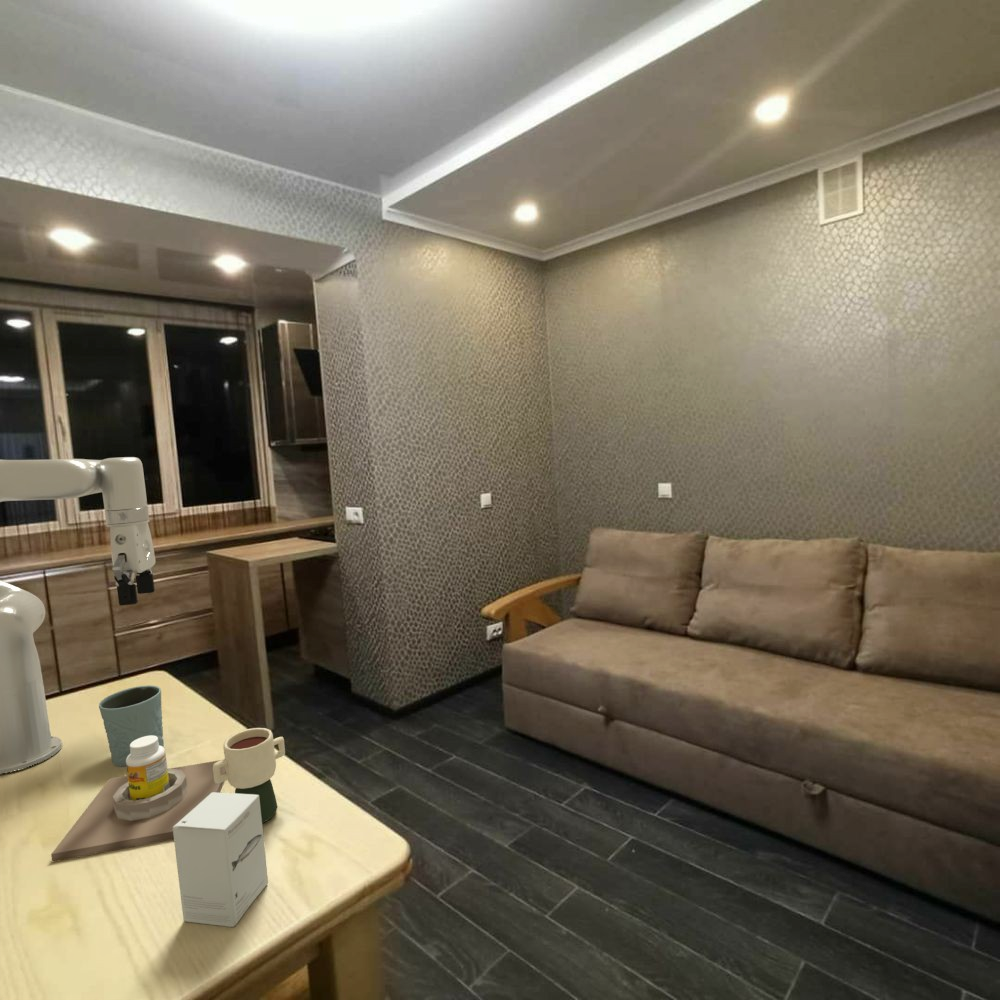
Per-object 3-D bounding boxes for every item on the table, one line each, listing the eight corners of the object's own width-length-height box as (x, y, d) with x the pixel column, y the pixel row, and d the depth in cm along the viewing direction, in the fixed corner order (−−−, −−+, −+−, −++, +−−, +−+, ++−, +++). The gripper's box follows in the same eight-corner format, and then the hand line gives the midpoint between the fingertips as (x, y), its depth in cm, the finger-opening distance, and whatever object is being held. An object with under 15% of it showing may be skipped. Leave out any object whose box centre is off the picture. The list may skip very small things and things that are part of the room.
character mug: (280, 792, 98) (273, 718, 97) (299, 809, 93) (292, 732, 92) (212, 824, 91) (203, 744, 90) (229, 845, 86) (219, 761, 84)
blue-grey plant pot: (172, 737, 120) (166, 681, 119) (161, 762, 111) (154, 701, 110) (116, 748, 117) (108, 691, 116) (99, 775, 108) (90, 712, 106)
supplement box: (235, 929, 71) (223, 830, 69) (181, 922, 72) (169, 826, 71) (270, 883, 78) (260, 793, 76) (221, 878, 79) (211, 789, 78)
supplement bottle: (126, 802, 96) (118, 743, 95) (162, 786, 100) (155, 729, 99) (138, 815, 92) (131, 753, 91) (176, 797, 97) (169, 738, 96)
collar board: (52, 861, 85) (48, 837, 84) (110, 784, 104) (108, 765, 104) (202, 833, 89) (199, 810, 89) (231, 764, 108) (229, 745, 108)
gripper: (131, 520, 113) (142, 607, 115) (161, 511, 130) (170, 587, 132) (87, 524, 112) (99, 611, 113) (124, 514, 128) (133, 590, 130)
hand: (137, 598), depth 123 cm, fingers open, 9 cm apart
